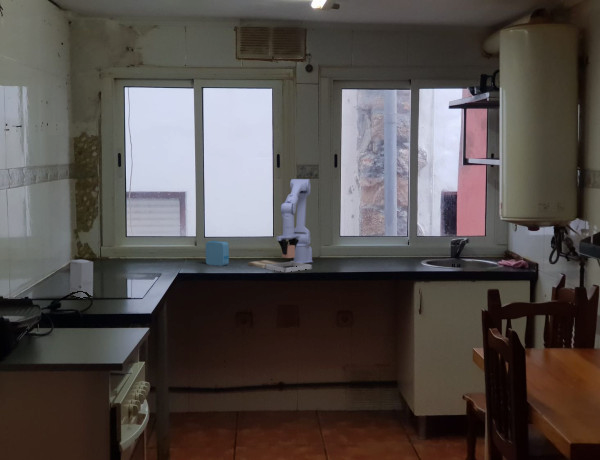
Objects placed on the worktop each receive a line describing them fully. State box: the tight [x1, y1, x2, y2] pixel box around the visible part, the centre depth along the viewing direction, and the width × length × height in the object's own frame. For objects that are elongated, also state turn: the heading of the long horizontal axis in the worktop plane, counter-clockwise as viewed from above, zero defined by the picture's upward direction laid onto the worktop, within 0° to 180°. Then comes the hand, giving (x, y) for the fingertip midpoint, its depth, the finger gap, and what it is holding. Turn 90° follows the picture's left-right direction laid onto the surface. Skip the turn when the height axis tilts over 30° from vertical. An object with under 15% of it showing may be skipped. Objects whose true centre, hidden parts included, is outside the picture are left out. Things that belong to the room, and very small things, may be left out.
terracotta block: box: [281, 244, 295, 259], centre depth 385 cm, size 4×4×6 cm
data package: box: [205, 240, 230, 267], centre depth 400 cm, size 12×4×12 cm, turn 56°
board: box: [247, 259, 281, 269], centre depth 398 cm, size 12×12×2 cm
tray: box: [264, 261, 313, 273], centre depth 386 cm, size 18×16×2 cm
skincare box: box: [69, 259, 94, 299], centre depth 311 cm, size 8×6×15 cm
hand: (288, 253), depth 385 cm, fingers closed on terracotta block, 5 cm apart
